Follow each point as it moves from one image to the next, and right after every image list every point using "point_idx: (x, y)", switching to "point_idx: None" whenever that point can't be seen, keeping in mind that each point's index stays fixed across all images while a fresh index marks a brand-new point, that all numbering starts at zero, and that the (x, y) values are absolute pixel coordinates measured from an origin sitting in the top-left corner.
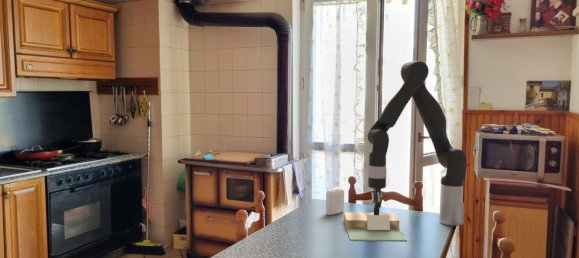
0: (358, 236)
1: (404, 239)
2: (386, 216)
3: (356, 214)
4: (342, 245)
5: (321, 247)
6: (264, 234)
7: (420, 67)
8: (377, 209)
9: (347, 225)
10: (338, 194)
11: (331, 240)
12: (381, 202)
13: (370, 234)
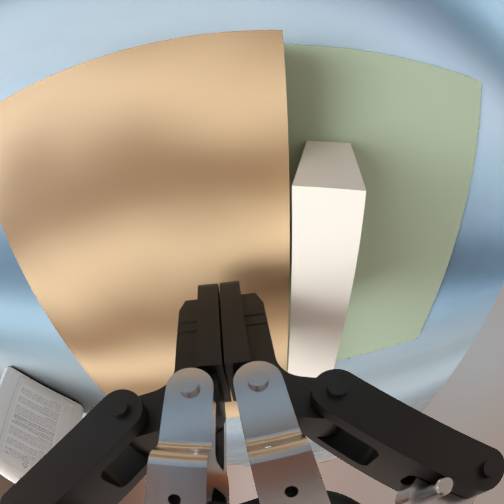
0: (398, 319)
1: (474, 90)
2: (360, 221)
3: (145, 388)
4: (443, 342)
5: (433, 375)
6: (316, 455)
7: None
8: (276, 365)
9: None
10: (27, 461)
11: (395, 375)
12: (457, 431)
13: (384, 272)
